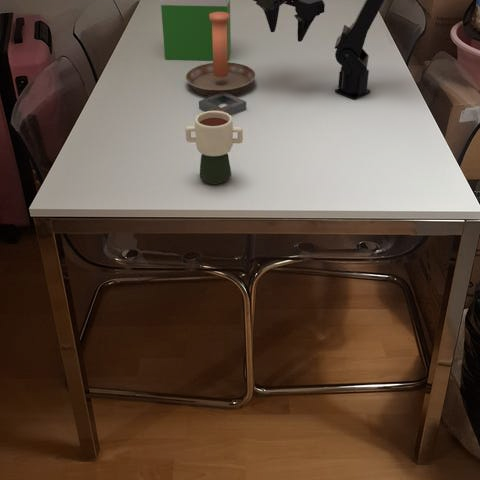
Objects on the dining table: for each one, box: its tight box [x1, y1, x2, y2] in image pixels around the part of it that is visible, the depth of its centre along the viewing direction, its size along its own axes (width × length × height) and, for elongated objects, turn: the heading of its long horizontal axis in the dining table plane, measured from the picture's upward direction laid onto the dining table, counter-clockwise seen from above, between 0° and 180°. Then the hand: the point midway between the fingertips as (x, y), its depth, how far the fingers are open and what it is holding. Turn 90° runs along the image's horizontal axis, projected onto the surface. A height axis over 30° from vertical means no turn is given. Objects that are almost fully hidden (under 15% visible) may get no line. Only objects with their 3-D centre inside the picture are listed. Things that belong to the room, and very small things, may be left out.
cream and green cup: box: [185, 111, 244, 185], centre depth 125 cm, size 11×7×13 cm, turn 86°
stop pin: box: [209, 12, 229, 77], centre depth 159 cm, size 5×5×15 cm
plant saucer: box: [185, 61, 256, 97], centre depth 165 cm, size 18×18×3 cm
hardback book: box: [160, 0, 232, 62], centre depth 175 cm, size 18×7×24 cm, turn 85°
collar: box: [198, 92, 247, 116], centre depth 154 cm, size 8×8×2 cm
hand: (286, 36), depth 157 cm, fingers open, 9 cm apart
